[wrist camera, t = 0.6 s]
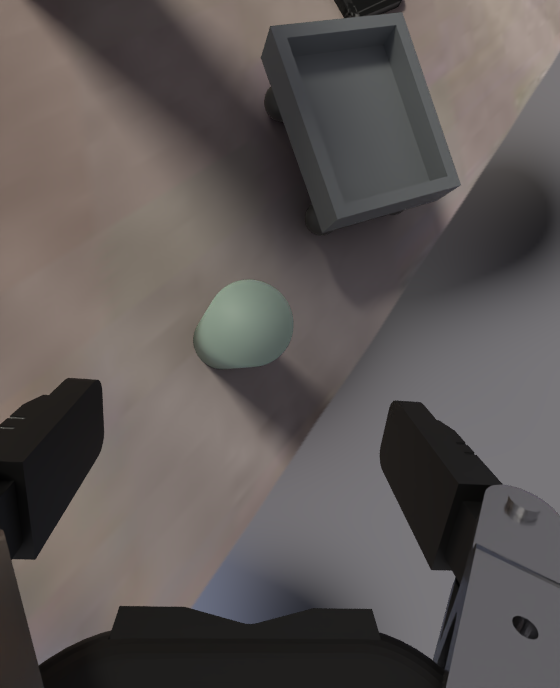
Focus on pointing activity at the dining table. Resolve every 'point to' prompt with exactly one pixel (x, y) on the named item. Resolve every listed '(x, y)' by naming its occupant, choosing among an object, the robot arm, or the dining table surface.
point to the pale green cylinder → (244, 326)
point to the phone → (365, 7)
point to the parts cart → (357, 118)
